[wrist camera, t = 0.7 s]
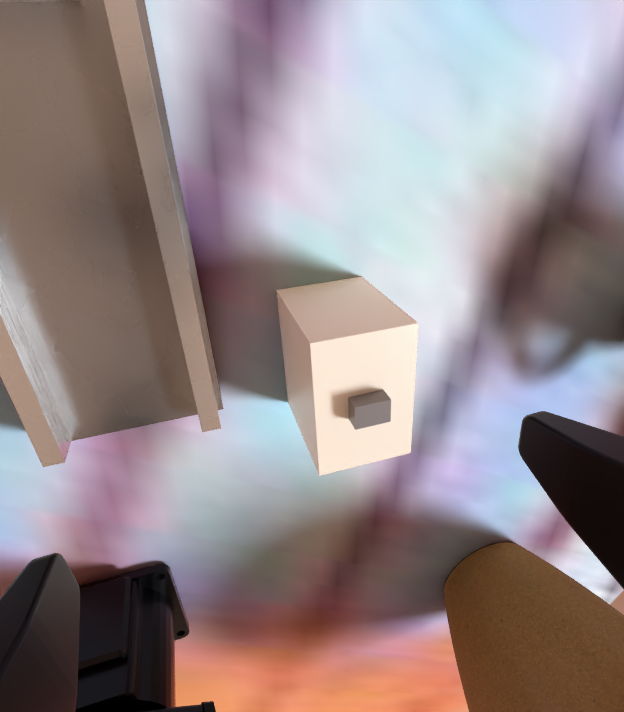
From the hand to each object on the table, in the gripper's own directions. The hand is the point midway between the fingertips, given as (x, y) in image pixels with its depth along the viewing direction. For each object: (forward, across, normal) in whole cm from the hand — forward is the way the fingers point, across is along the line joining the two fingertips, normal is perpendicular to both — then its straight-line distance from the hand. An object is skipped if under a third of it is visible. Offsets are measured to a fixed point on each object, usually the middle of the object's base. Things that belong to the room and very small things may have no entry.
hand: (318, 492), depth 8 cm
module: (+12, -4, +4) cm, 14 cm away
